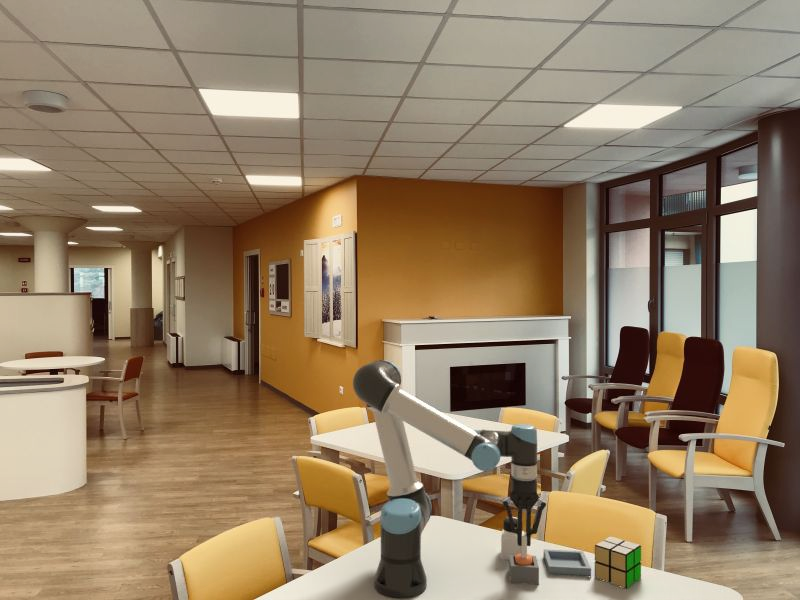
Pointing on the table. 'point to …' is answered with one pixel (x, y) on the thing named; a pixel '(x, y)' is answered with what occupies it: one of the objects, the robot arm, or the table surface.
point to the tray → (567, 563)
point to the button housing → (524, 572)
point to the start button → (523, 560)
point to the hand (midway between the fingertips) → (523, 556)
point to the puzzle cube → (618, 561)
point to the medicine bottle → (509, 540)
